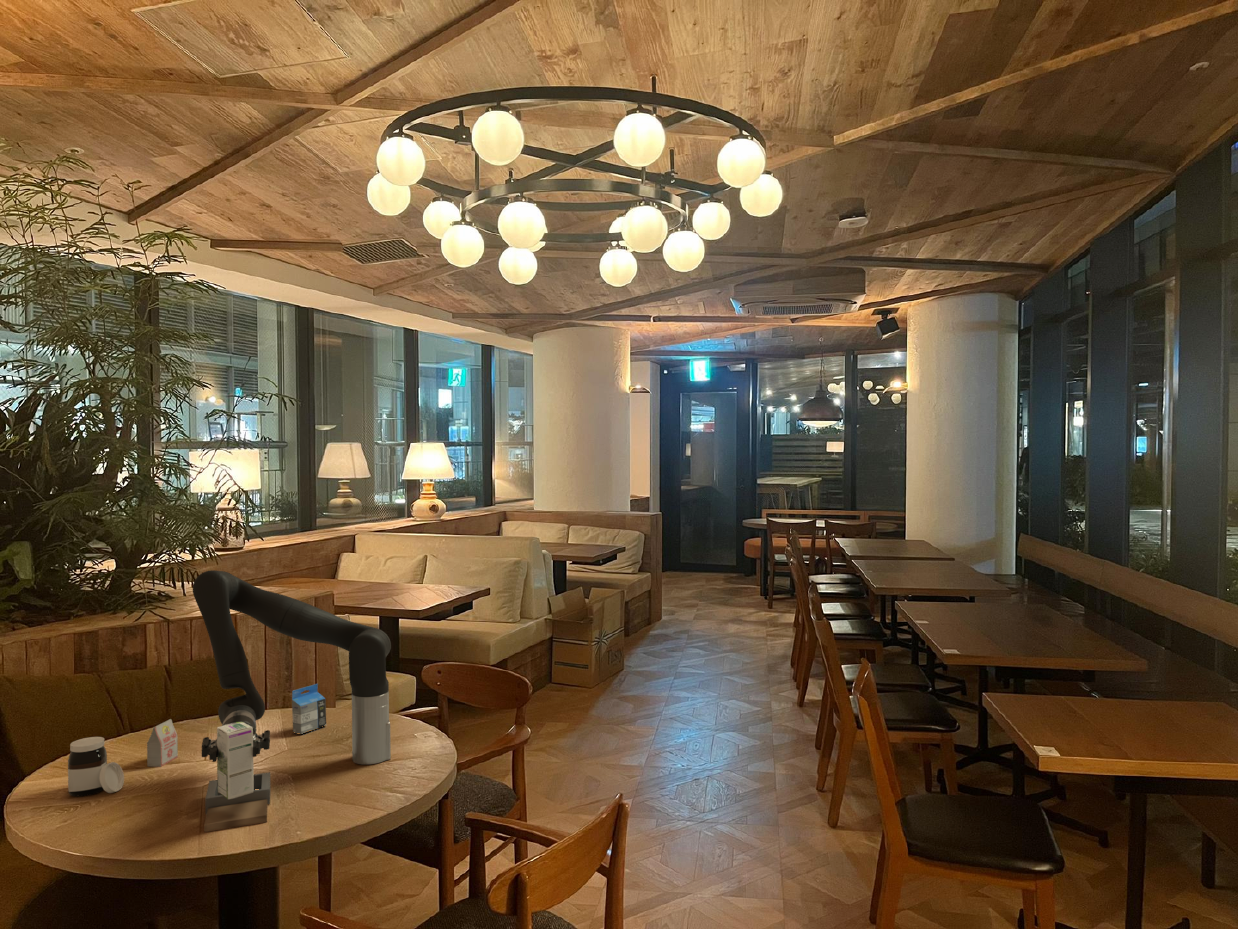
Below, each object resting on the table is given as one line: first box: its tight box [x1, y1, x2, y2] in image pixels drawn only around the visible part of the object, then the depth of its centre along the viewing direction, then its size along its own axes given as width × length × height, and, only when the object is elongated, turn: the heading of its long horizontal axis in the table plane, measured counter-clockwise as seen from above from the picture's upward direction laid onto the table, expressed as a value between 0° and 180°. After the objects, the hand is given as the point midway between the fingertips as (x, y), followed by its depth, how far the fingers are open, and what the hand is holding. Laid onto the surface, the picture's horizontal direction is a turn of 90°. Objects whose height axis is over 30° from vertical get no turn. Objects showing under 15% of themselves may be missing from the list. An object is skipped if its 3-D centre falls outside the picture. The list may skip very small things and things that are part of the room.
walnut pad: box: [203, 799, 268, 833], centre depth 177 cm, size 12×9×2 cm
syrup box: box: [216, 722, 254, 799], centre depth 177 cm, size 6×6×14 cm
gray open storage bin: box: [204, 771, 271, 815], centre depth 187 cm, size 13×11×4 cm
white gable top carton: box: [146, 718, 179, 768], centre depth 211 cm, size 4×7×10 cm, turn 175°
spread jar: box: [67, 736, 125, 797], centre depth 193 cm, size 12×11×12 cm
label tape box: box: [291, 683, 327, 735], centre depth 235 cm, size 9×4×12 cm, turn 149°
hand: (234, 754), depth 175 cm, fingers closed on syrup box, 7 cm apart
